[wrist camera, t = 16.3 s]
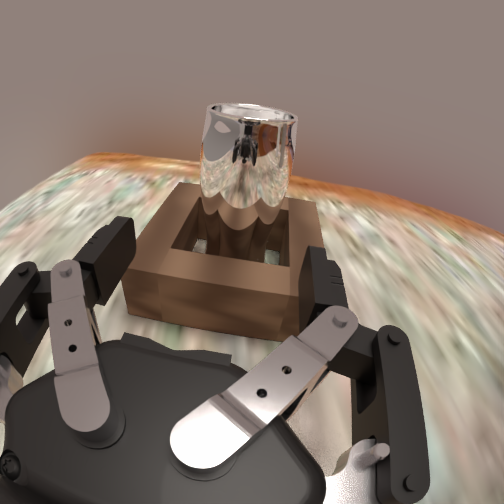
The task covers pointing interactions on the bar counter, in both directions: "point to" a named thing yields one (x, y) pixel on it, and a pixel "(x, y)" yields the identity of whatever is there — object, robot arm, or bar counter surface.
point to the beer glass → (244, 176)
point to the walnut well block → (219, 272)
